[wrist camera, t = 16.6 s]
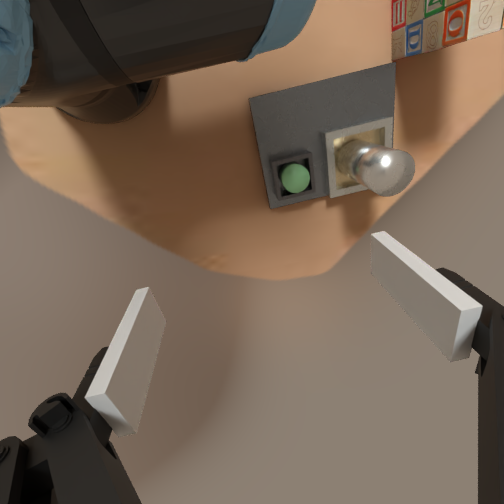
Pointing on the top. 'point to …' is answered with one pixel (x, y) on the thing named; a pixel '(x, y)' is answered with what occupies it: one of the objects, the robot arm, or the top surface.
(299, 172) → the button
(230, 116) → the top surface
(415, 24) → the stack of blocks
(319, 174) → the panel
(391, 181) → the cylinder
